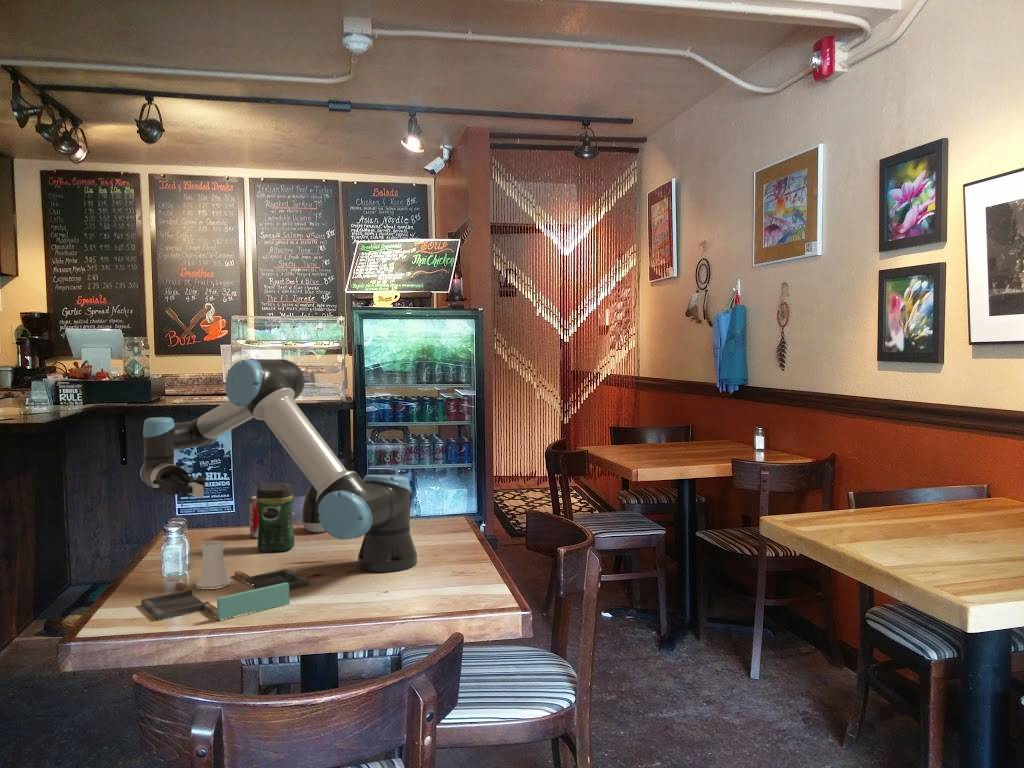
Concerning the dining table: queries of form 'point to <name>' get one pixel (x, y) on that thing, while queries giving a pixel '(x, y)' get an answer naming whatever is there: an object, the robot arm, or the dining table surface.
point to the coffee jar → (275, 517)
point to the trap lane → (189, 603)
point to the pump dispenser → (311, 512)
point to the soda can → (254, 517)
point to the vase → (213, 566)
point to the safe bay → (252, 600)
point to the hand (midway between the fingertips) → (200, 491)
